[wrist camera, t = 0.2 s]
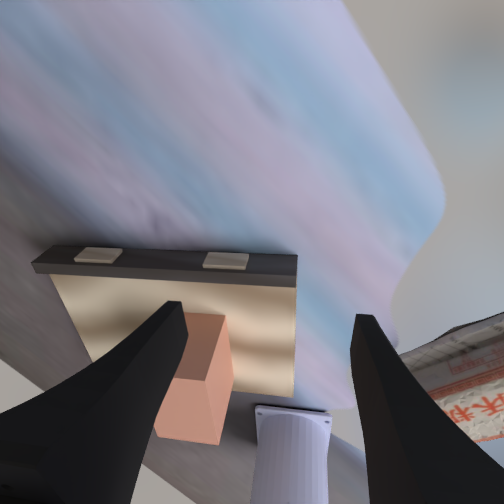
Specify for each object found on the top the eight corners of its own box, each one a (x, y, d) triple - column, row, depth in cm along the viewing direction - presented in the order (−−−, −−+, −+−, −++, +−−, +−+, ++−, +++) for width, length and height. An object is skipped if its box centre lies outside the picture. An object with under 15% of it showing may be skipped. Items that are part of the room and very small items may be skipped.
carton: (225, 315, 25) (204, 381, 20) (234, 378, 29) (218, 445, 24) (164, 310, 26) (129, 373, 21) (181, 372, 30) (155, 436, 25)
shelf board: (293, 383, 31) (292, 407, 29) (107, 363, 34) (94, 384, 32) (297, 251, 23) (296, 272, 21) (51, 242, 26) (29, 259, 24)
